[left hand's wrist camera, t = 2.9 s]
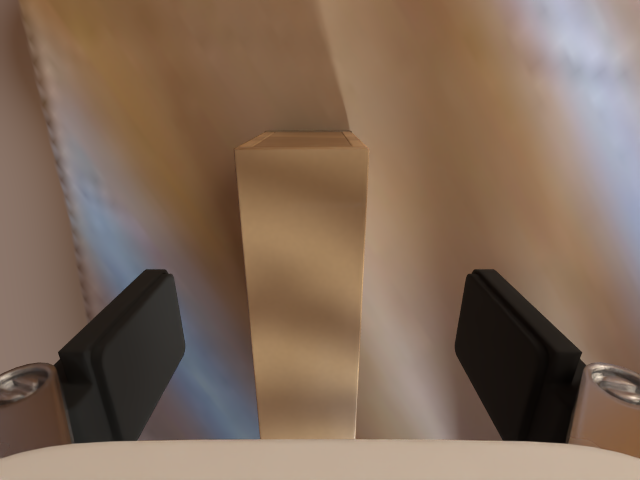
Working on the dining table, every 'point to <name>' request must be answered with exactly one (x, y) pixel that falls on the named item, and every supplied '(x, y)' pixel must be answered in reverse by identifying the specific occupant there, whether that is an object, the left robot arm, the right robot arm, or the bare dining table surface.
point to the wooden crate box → (304, 277)
